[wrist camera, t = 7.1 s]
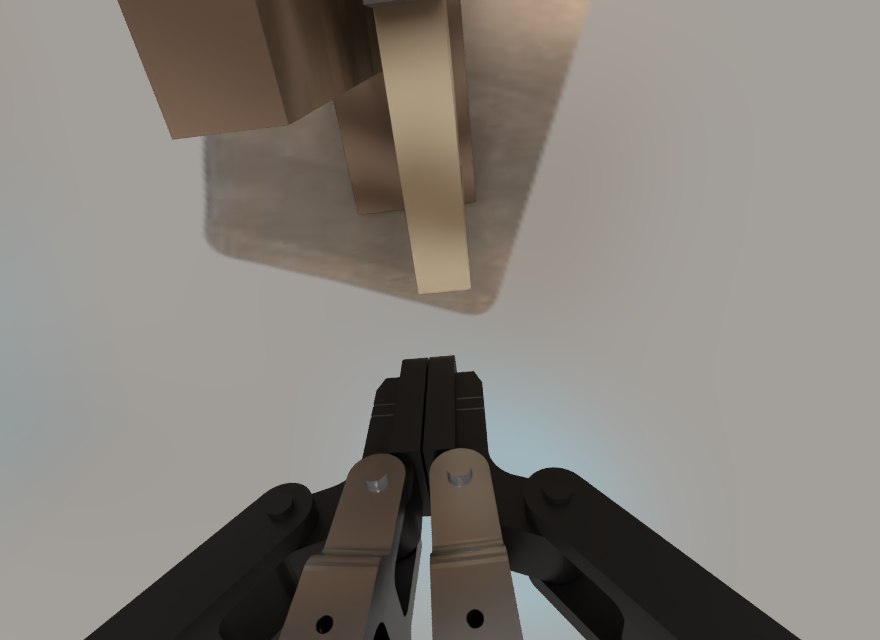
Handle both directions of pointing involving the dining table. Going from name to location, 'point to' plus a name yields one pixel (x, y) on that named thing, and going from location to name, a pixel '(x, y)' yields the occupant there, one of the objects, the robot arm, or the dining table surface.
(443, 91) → the frame
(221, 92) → the stand
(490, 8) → the dining table surface
